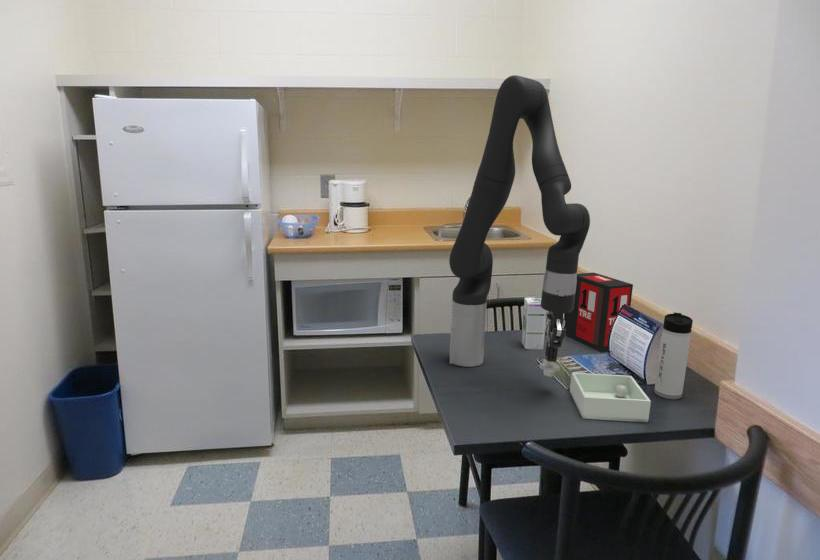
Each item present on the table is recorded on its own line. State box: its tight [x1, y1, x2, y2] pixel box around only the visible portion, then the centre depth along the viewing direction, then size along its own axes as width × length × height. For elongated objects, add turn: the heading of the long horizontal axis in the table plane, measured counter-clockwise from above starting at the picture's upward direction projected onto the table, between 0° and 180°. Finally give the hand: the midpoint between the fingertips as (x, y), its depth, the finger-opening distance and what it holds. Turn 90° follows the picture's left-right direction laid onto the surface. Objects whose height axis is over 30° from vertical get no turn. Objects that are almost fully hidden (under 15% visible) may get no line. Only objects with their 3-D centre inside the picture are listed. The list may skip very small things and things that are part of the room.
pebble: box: [615, 385, 628, 398], centre depth 138 cm, size 3×3×3 cm
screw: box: [539, 332, 561, 378], centre depth 138 cm, size 13×5×5 cm
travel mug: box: [653, 312, 694, 400], centre depth 140 cm, size 6×7×20 cm
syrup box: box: [521, 296, 547, 351], centre depth 171 cm, size 6×6×14 cm
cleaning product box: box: [564, 272, 634, 354], centre depth 176 cm, size 16×9×20 cm, turn 24°
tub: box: [569, 372, 652, 423], centre depth 134 cm, size 14×14×5 cm
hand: (550, 358), depth 139 cm, fingers closed on screw, 2 cm apart
